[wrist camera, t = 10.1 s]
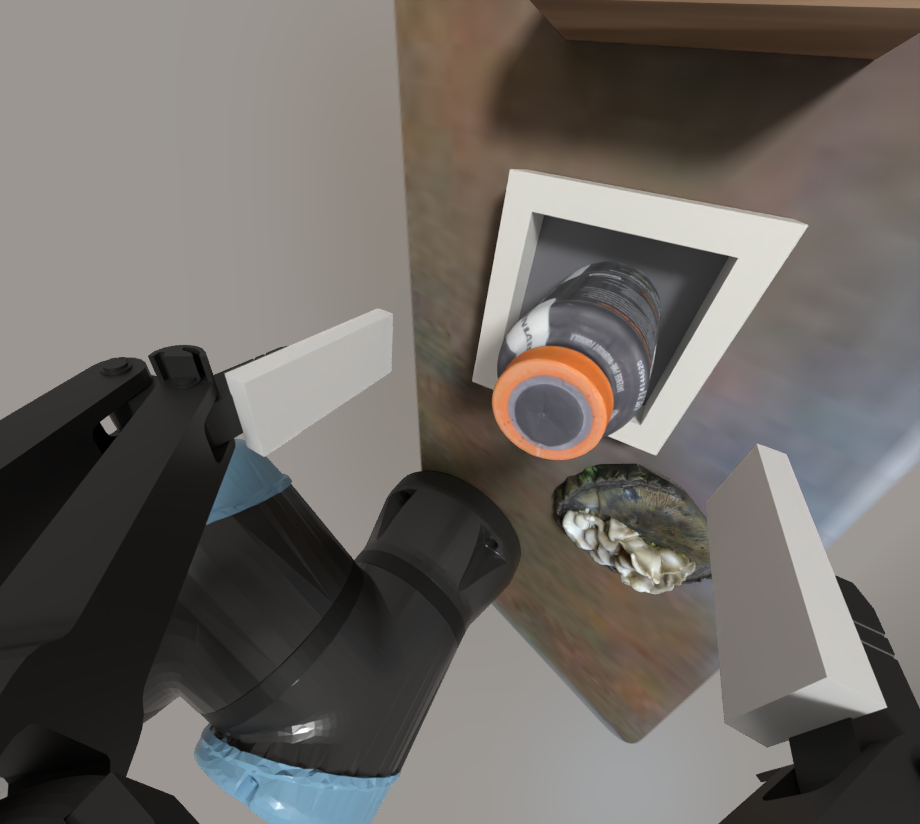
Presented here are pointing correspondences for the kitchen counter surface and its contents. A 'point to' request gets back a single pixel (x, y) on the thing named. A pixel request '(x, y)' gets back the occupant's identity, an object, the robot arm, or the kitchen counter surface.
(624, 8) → the door edge
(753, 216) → the plate
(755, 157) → the kitchen counter surface
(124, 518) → the robot arm
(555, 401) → the pill bottle
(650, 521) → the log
